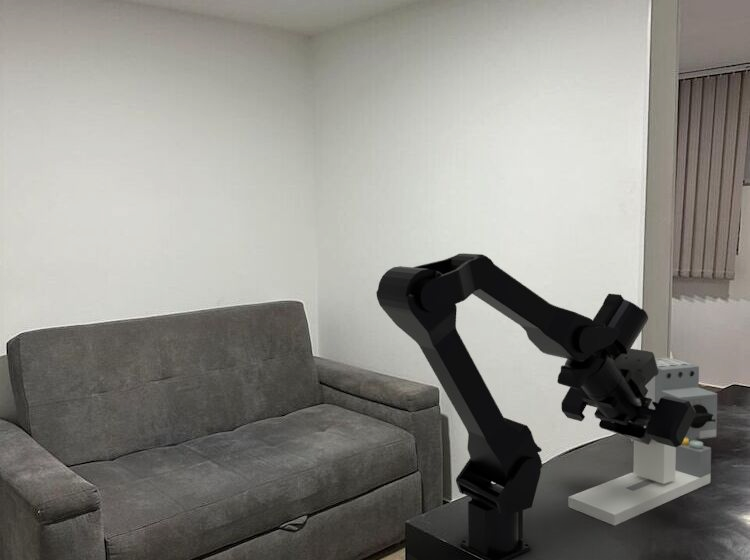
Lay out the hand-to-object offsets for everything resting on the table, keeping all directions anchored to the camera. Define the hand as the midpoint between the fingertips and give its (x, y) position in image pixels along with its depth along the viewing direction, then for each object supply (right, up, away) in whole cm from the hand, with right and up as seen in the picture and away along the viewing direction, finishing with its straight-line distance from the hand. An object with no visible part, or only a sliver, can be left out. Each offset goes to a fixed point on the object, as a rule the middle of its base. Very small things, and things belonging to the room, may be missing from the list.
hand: (647, 441), depth 103 cm
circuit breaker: (+12, -6, +18) cm, 23 cm away
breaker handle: (+2, -6, +2) cm, 6 cm away
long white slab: (-1, -8, 0) cm, 8 cm away
